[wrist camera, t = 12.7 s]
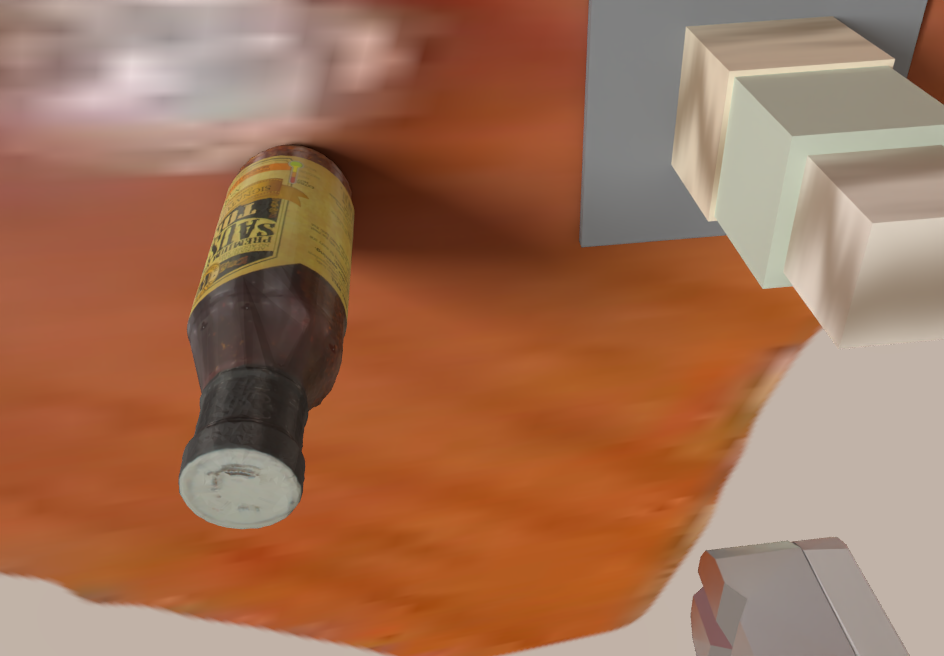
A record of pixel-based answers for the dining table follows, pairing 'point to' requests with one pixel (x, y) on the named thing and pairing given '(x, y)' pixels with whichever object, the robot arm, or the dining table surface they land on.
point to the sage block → (806, 146)
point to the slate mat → (656, 99)
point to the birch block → (745, 54)
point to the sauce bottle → (267, 334)
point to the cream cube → (872, 245)
